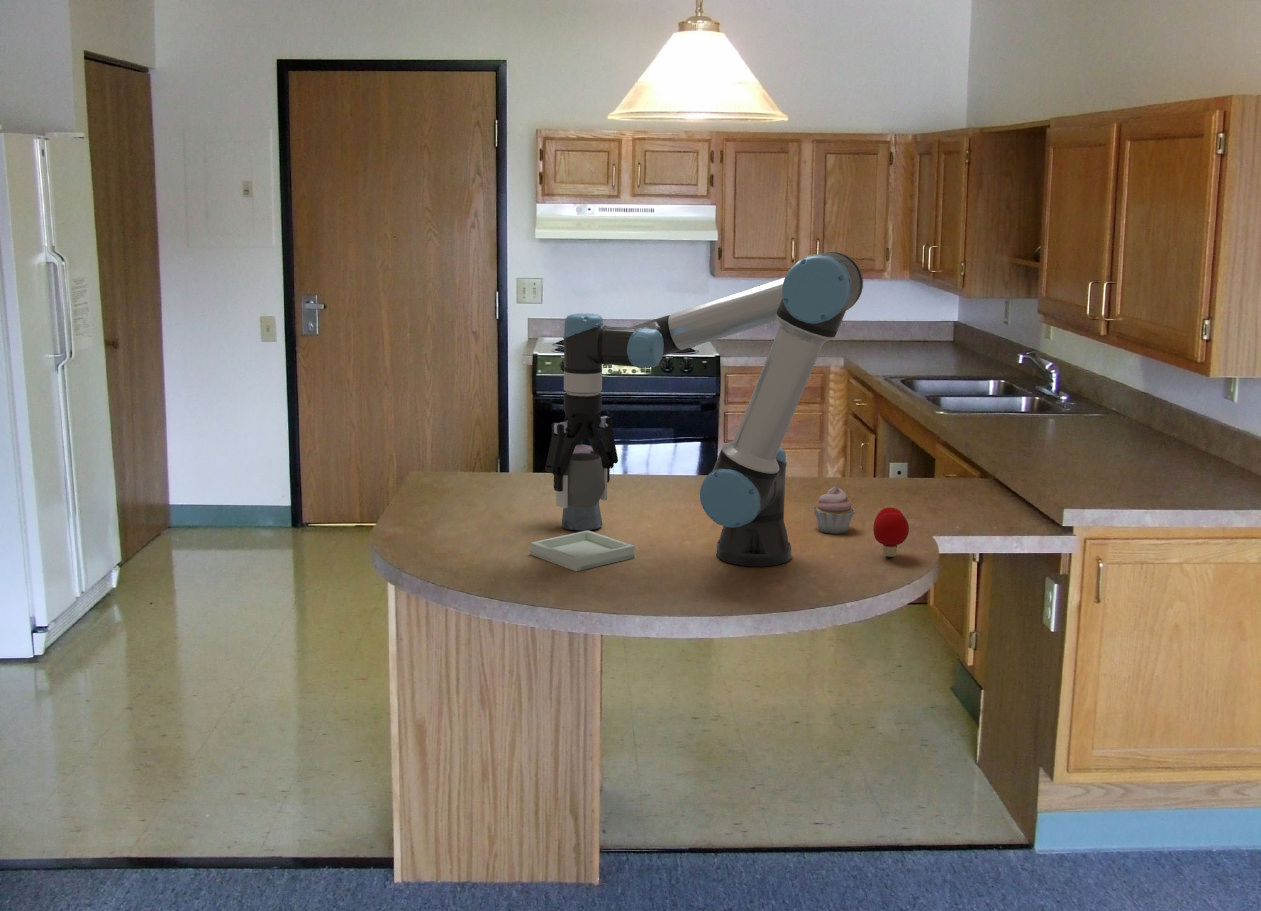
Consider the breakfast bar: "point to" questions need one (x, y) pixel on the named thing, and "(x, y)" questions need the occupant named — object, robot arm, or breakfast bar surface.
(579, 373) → the robot arm
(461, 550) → the breakfast bar surface
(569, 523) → the moka pot
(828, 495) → the cupcake
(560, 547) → the tray
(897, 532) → the light bulb
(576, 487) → the cup
